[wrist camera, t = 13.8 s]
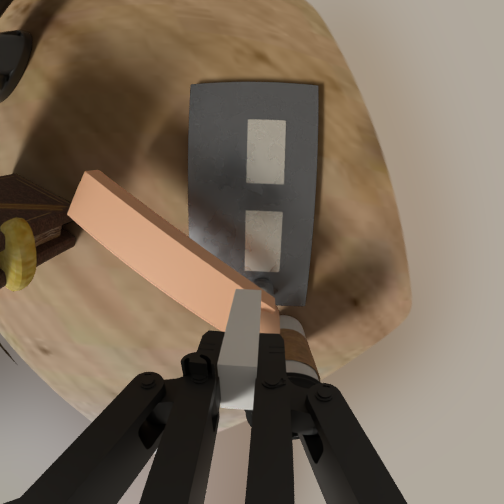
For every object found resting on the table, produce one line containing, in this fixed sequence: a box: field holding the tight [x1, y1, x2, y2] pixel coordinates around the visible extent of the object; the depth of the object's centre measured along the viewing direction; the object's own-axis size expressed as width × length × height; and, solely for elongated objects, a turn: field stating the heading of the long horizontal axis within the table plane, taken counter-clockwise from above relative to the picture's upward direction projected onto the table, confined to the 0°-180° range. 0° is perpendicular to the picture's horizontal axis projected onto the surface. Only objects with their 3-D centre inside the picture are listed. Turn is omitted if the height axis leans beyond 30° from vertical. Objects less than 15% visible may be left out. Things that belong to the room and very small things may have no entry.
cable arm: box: [67, 170, 280, 334], centre depth 24 cm, size 24×5×3 cm, turn 54°
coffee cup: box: [245, 315, 321, 440], centre depth 29 cm, size 8×8×15 cm
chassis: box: [188, 82, 318, 306], centre depth 27 cm, size 26×14×7 cm, turn 179°
